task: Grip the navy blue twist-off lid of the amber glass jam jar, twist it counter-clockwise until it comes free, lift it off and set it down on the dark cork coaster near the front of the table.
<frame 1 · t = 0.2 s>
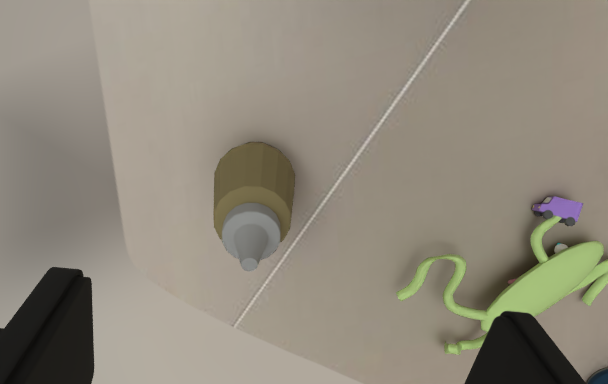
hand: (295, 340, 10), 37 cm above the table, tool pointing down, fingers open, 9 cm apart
soda can: (604, 379, 67), on the table
squeeze bottle: (256, 166, 48), on the table
figurine: (497, 271, 57), on the table
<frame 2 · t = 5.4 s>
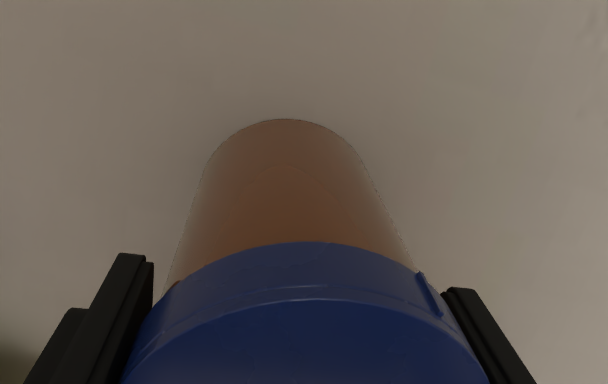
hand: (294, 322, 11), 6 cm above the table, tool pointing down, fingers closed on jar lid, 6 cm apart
jam jar: (285, 201, 17), on the table
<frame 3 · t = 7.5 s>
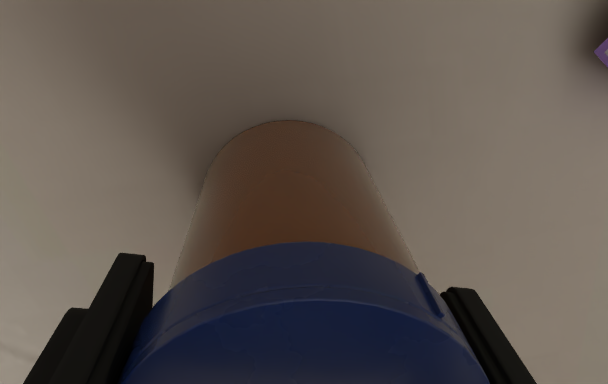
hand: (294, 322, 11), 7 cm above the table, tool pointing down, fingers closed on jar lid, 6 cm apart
jam jar: (288, 201, 17), on the table
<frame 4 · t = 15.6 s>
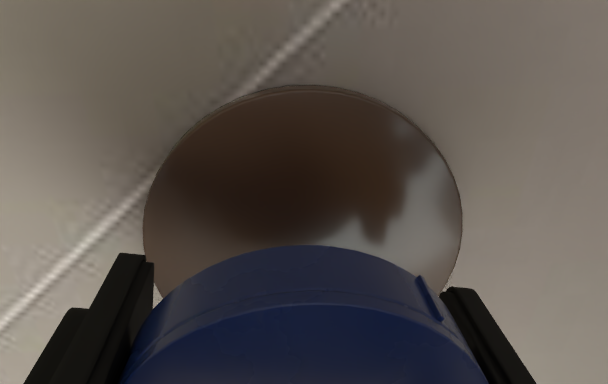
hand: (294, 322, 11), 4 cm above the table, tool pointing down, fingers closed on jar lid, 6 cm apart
coaster: (304, 238, 14), on the table
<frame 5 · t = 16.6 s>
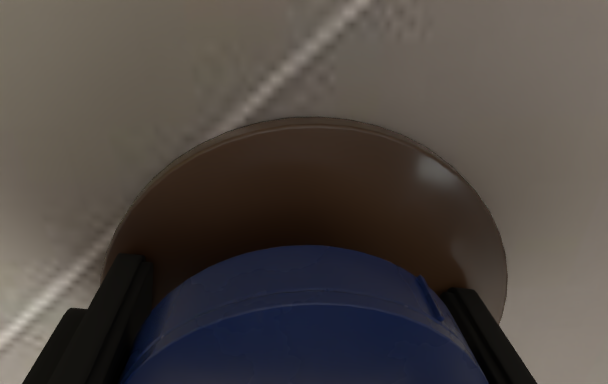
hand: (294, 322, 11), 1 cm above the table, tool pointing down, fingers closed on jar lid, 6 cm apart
coaster: (307, 303, 12), on the table
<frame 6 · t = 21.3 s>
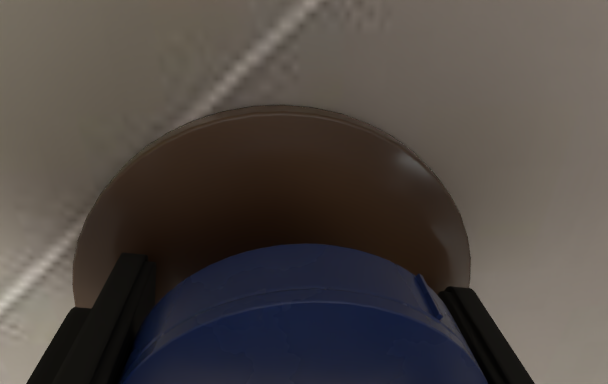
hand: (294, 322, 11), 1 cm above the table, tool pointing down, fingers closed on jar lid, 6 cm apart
coaster: (278, 288, 12), on the table
when the fingers open (2 cm above the table, at t = 25.8 s): jar lid drops 3 cm, resting on coaster.
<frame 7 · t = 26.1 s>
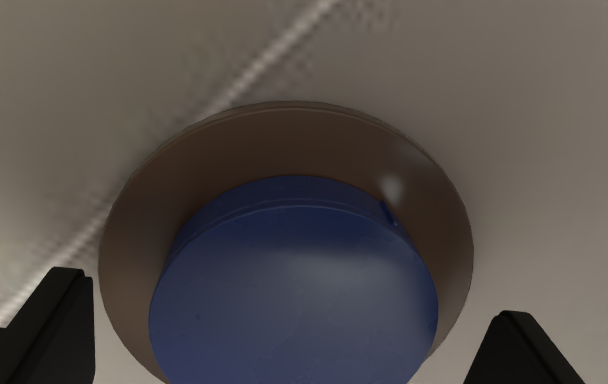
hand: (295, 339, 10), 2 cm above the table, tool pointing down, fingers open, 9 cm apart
jar lid: (295, 324, 11), point 2 cm above the table, off its thread, touching coaster
coaster: (290, 276, 12), on the table
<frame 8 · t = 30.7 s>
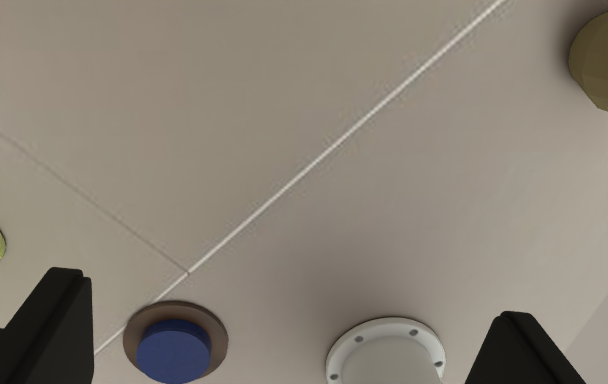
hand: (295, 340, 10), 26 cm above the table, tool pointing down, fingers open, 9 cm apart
jar lid: (173, 356, 42), point 2 cm above the table, off its thread, touching coaster
coaster: (177, 341, 44), on the table
squeeze bottle: (602, 50, 35), on the table
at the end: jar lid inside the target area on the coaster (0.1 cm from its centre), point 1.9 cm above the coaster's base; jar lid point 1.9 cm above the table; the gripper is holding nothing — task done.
